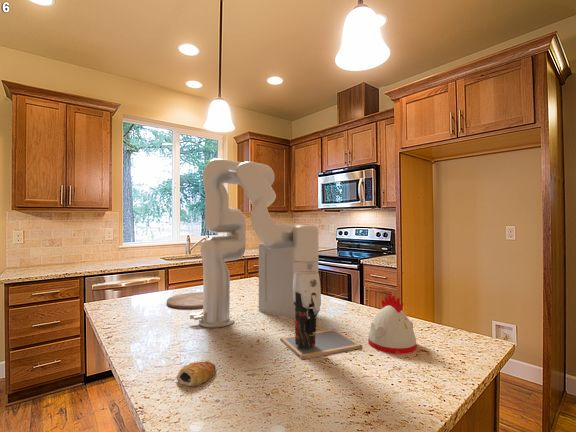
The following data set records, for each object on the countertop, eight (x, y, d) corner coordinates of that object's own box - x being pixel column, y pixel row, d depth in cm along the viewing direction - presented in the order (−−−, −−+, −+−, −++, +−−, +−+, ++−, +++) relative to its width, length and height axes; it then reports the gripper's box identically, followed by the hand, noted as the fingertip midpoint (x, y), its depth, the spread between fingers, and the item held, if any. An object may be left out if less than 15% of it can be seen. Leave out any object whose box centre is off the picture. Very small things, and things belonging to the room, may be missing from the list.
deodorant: (314, 348, 90) (314, 294, 90) (293, 346, 91) (293, 293, 91) (316, 340, 96) (316, 290, 96) (297, 338, 97) (297, 289, 97)
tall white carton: (315, 310, 134) (315, 243, 134) (294, 319, 122) (294, 245, 122) (279, 303, 145) (280, 241, 146) (257, 310, 134) (257, 243, 134)
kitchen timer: (391, 357, 88) (391, 303, 88) (359, 341, 100) (359, 293, 101) (426, 348, 95) (426, 297, 95) (391, 333, 107) (391, 288, 107)
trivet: (155, 304, 144) (155, 300, 145) (199, 293, 165) (199, 290, 165) (190, 313, 130) (190, 308, 130) (234, 300, 151) (234, 296, 151)
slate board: (301, 359, 87) (301, 356, 87) (280, 340, 101) (280, 337, 101) (361, 347, 95) (361, 344, 95) (334, 331, 109) (334, 329, 109)
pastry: (202, 367, 83) (203, 352, 83) (222, 373, 79) (223, 358, 80) (173, 383, 75) (174, 366, 75) (194, 391, 71) (195, 373, 71)
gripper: (332, 270, 87) (331, 336, 87) (303, 262, 103) (303, 318, 103) (307, 272, 84) (307, 340, 84) (282, 263, 100) (282, 321, 100)
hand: (305, 327), depth 94 cm, fingers closed on deodorant, 5 cm apart
